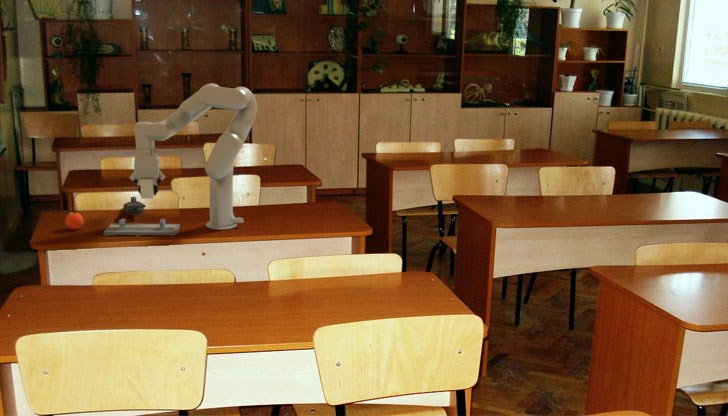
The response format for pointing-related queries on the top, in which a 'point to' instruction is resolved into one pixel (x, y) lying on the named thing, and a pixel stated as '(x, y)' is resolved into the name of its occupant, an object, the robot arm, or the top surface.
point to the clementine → (74, 221)
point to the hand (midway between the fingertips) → (148, 194)
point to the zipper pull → (134, 207)
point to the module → (147, 188)
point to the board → (141, 231)
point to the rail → (142, 226)
